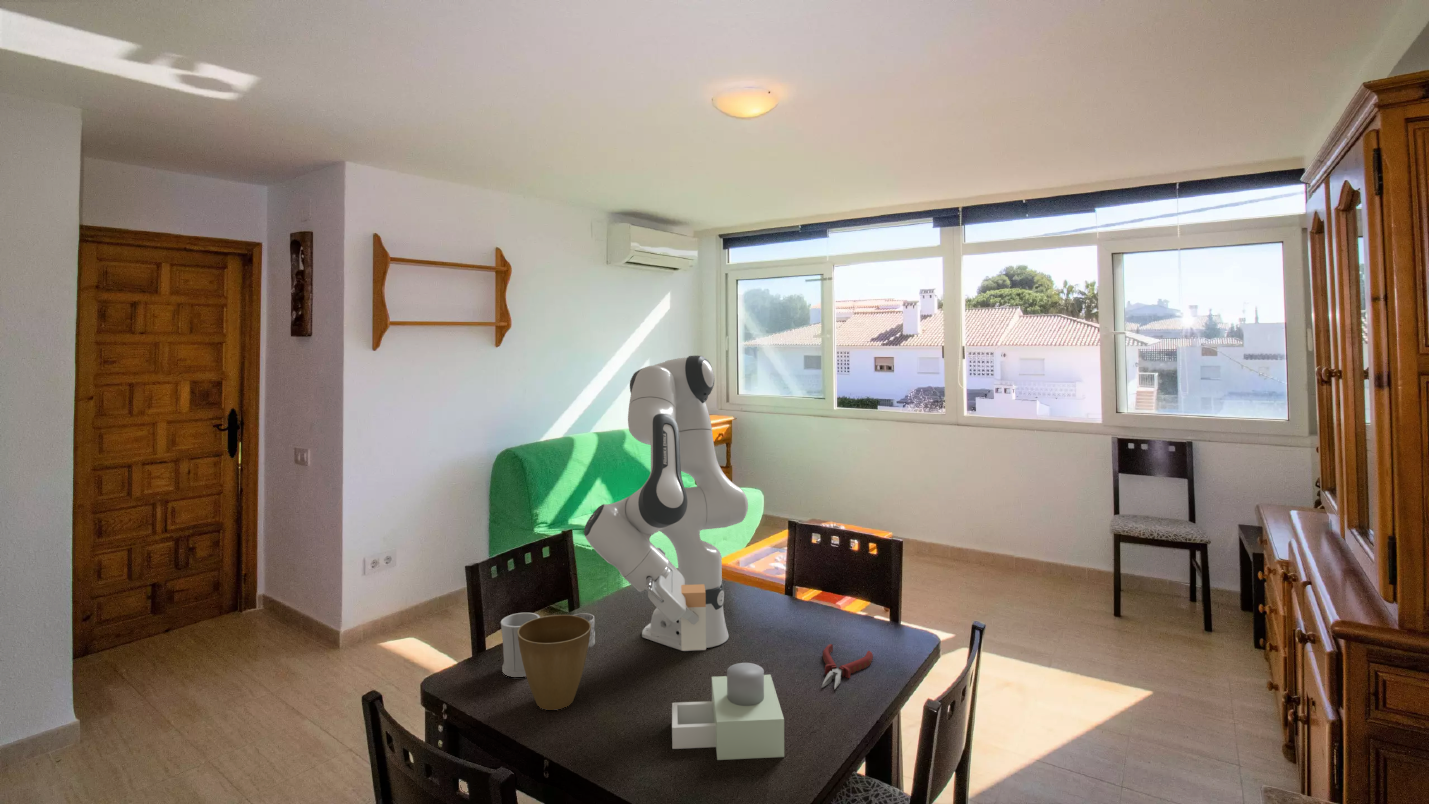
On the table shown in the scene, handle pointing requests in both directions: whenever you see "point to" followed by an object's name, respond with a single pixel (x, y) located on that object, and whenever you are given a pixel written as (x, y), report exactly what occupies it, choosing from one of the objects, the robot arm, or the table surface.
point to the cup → (513, 643)
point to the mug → (591, 620)
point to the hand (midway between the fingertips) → (696, 614)
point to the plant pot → (554, 657)
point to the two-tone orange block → (696, 634)
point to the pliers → (842, 666)
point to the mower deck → (733, 717)
